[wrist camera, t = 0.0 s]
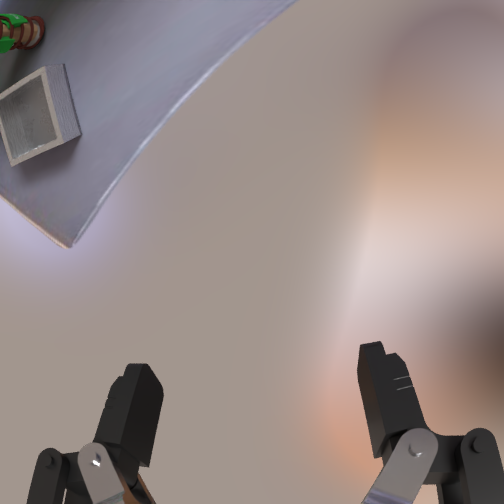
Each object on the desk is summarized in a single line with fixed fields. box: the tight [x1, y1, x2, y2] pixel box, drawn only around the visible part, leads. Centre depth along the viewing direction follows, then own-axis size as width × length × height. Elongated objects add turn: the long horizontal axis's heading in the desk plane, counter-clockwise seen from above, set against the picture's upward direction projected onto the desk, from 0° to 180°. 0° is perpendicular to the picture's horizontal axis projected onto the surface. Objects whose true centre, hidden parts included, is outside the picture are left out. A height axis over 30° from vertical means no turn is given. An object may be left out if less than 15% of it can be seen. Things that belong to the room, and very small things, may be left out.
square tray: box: [0, 64, 82, 167], centre depth 30 cm, size 10×10×4 cm
